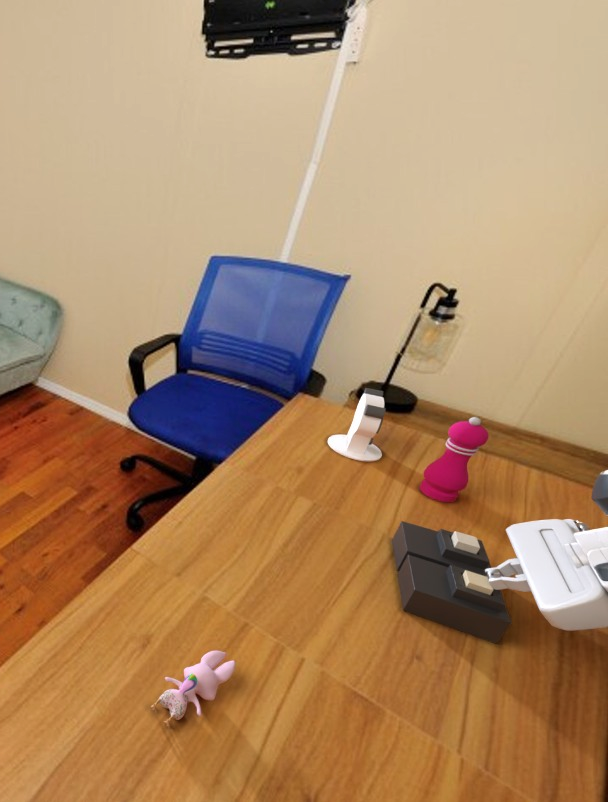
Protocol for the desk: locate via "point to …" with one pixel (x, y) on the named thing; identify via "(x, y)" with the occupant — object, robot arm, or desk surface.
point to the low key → (465, 542)
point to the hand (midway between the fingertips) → (488, 579)
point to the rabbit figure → (196, 684)
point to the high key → (477, 582)
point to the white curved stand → (362, 429)
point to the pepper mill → (454, 461)
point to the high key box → (451, 599)
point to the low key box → (435, 548)
